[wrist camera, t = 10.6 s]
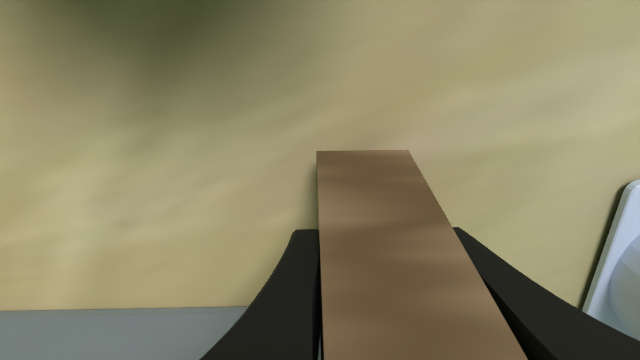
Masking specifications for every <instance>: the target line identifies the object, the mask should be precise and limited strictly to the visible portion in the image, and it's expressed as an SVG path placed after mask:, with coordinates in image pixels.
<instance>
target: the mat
mask: <svg viewBox="0 0 640 360" xmlns="http://www.w3.org/2000/svg"><path fill="white" fill-rule="evenodd" d="M247 308H248V307H204V308H149V309H93V310H38V311H0V360H199V359H200V358H201V357H203V356H204V355H205V354H206V353H207V352H208V351H209V350H210V349H211V348H212V347H213V346H214V345H215V344H216V343H217V342H218V341H219V340H220V339H221V338H222V337H223V336H224V335H225V334H226V333H227V331H228V330H229V329H230V328H231V327H232V326H233V325H234V324H235V323H236V321H237V320H238V319H239V318H240V317H241V316H242V314H243V313H244V312H245V311H246V310H247ZM318 360H321V348H320V343H319V356H318Z"/></svg>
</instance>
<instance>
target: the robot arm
mask: <svg viewBox="0 0 640 360" xmlns="http://www.w3.org/2000/svg"><path fill="white" fill-rule="evenodd" d="M452 228H453V229H454V231H455V233H456V235H457V236H458V238H459V240H460V242H461V243H462V245H463V247H464V249H465V250H466V252H467V254H468V256H469V257H470V259H471V261H472V263H473V264H474V266H475V268H476V270H477V271H478V273H479V275H480V277H481V278H482V280H483V282H484V284H485V285H486V287H487V289H488V291H489V292H490V294H491V296H492V298H493V299H494V301H495V303H496V305H497V306H498V308H499V310H500V312H501V313H502V315H503V317H504V319H505V320H506V322H507V324H508V326H509V327H510V329H511V331H512V333H513V334H514V336H515V338H516V340H517V341H518V343H519V345H520V347H521V348H522V350H523V352H524V354H525V355H526V357H527V359H528V360H640V179H639V180H635V181H633V182H631V183H630V184H629V185H627V186H626V188H625V190H624V191H623V194H622V197H621V200H620V203H619V206H618V209H617V211H616V214H615V217H614V220H613V223H612V226H611V229H610V232H609V234H608V237H607V240H606V243H605V246H604V249H603V252H602V254H601V257H600V260H599V263H598V266H597V269H596V272H595V275H594V277H593V280H592V283H591V286H590V289H589V292H588V295H587V298H586V300H585V303H584V306H583V309H582V311H581V310H579V309H577V308H576V307H574V306H572V305H570V304H569V303H567V302H565V301H564V300H562V299H560V298H559V297H557V296H555V295H554V294H552V293H551V292H549V291H548V290H546V289H545V288H543V287H542V286H540V285H538V284H537V283H535V282H534V281H532V280H531V279H529V278H528V277H527V276H525V275H524V274H522V273H521V272H519V271H518V270H517V269H515V268H514V267H512V266H511V265H510V264H508V263H507V262H505V261H504V260H503V259H501V258H500V257H499V256H497V255H496V254H495V253H493V252H492V251H491V250H489V249H488V248H487V247H485V246H484V245H483V244H481V243H480V242H479V241H477V240H476V239H475V238H473V237H472V236H471V235H469V234H468V233H466V232H465V231H463V230H462V229H460V228H459V227H452ZM319 343H320V244H319V229H304V230H295V231H294V232H293V233H292V236H291V239H290V241H289V244H288V246H287V248H286V250H285V252H284V254H283V256H282V258H281V260H280V261H279V263H278V265H277V266H276V268H275V270H274V271H273V273H272V275H271V276H270V278H269V279H268V281H267V282H266V284H265V285H264V287H263V288H262V289H261V291H260V292H259V294H258V295H257V296H256V298H255V299H254V301H253V302H252V303H251V305H250V306H249V307H248V308H247V310H246V311H245V312H244V313H243V314H242V316H241V317H240V318H239V319H238V320H237V321H236V323H235V324H234V325H233V326H232V327H231V328H230V329H229V330H228V331H227V333H226V334H225V335H224V336H223V337H222V338H221V339H220V340H219V341H218V342H217V343H216V344H215V345H214V346H213V347H212V348H211V349H210V350H209V351H208V352H207V353H206V354H205V355H204V356H203V357H201V358H200V359H199V360H318V356H319Z"/></svg>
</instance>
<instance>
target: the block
mask: <svg viewBox="0 0 640 360" xmlns="http://www.w3.org/2000/svg"><path fill="white" fill-rule="evenodd" d="M317 229H319V244H320V348H321V360H528V359H527V357H526V355H525V354H524V352H523V350H522V348H521V347H520V345H519V343H518V341H517V340H516V338H515V336H514V334H513V333H512V331H511V329H510V327H509V326H508V324H507V322H506V320H505V319H504V317H503V315H502V313H501V312H500V310H499V308H498V306H497V305H496V303H495V301H494V299H493V298H492V296H491V294H490V292H489V291H488V289H487V287H486V285H485V284H484V282H483V280H482V278H481V277H480V275H479V273H478V271H477V270H476V268H475V266H474V264H473V263H472V261H471V259H470V257H469V256H468V254H467V252H466V250H465V249H464V247H463V245H462V243H461V242H460V240H459V238H458V236H457V235H456V233H455V231H454V229H453V228H452V226H451V224H450V222H449V221H448V219H447V217H446V215H445V214H444V212H443V210H442V208H441V207H440V205H439V203H438V201H437V200H436V198H435V196H434V195H433V193H432V191H431V189H430V188H429V186H428V184H427V182H426V181H425V179H424V177H423V175H422V174H421V172H420V170H419V168H418V167H417V165H416V163H415V161H414V160H413V158H412V156H411V154H410V153H409V151H408V150H367V151H317Z"/></svg>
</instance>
